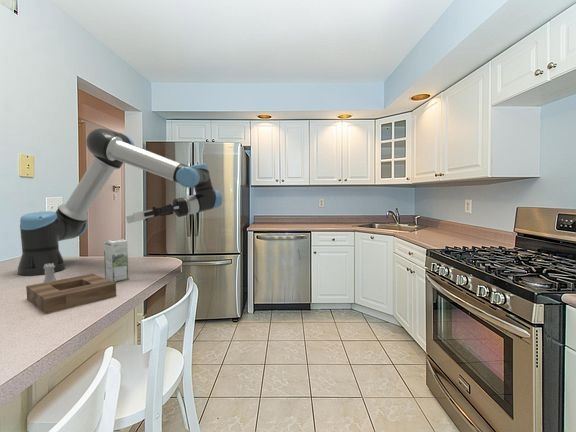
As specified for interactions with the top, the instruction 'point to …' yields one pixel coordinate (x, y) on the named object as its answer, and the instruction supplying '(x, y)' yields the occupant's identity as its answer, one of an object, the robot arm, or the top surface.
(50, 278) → the rook chess piece
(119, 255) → the syrup box
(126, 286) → the top surface
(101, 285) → the socket block
